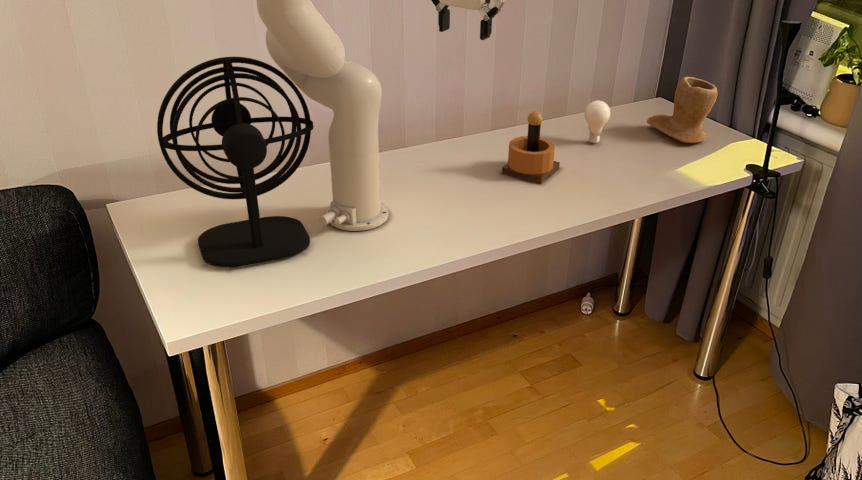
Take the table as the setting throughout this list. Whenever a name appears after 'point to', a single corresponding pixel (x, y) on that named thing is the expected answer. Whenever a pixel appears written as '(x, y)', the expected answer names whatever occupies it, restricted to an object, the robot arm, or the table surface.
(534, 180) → the hook base
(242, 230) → the desk fan
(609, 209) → the table surface
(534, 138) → the hook peg
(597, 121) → the lightbulb
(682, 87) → the brown boot
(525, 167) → the tape roll
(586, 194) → the table surface
